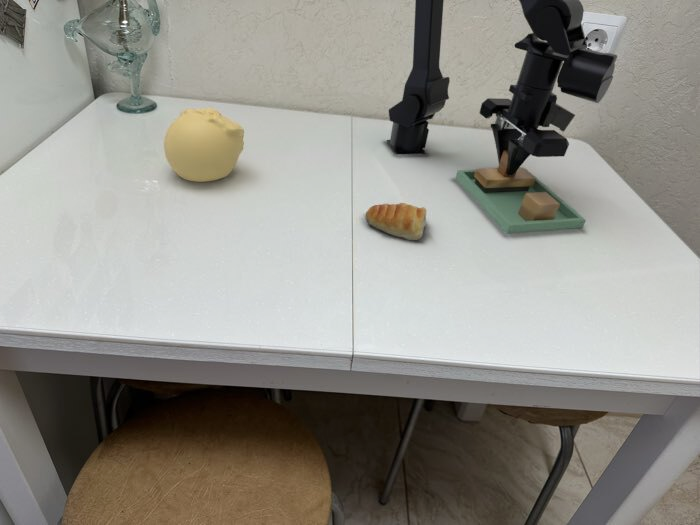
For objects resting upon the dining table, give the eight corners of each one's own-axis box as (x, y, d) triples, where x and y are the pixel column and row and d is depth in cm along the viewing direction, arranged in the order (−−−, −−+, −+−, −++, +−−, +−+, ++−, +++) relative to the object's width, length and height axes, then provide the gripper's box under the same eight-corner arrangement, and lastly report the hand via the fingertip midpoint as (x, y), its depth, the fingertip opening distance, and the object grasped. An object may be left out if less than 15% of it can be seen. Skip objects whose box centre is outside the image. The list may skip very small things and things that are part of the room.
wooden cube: (530, 226, 80) (539, 205, 78) (517, 213, 83) (525, 192, 81) (551, 225, 81) (560, 204, 79) (537, 212, 84) (546, 191, 82)
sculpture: (254, 171, 86) (253, 110, 79) (206, 197, 77) (201, 132, 71) (204, 151, 90) (199, 92, 83) (153, 174, 81) (143, 110, 75)
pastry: (361, 231, 74) (364, 209, 72) (368, 209, 80) (372, 189, 78) (422, 244, 73) (427, 222, 71) (425, 221, 79) (430, 200, 77)
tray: (505, 236, 78) (509, 225, 77) (454, 180, 92) (457, 170, 91) (581, 230, 82) (586, 219, 81) (521, 177, 96) (525, 168, 95)
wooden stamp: (483, 194, 87) (494, 159, 83) (471, 182, 91) (481, 147, 87) (531, 191, 90) (543, 157, 86) (518, 180, 93) (530, 147, 89)
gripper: (614, 105, 74) (574, 195, 84) (544, 67, 88) (517, 148, 98) (553, 104, 71) (518, 198, 81) (490, 65, 85) (467, 149, 95)
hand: (506, 171), depth 88 cm, fingers closed on wooden stamp, 2 cm apart
